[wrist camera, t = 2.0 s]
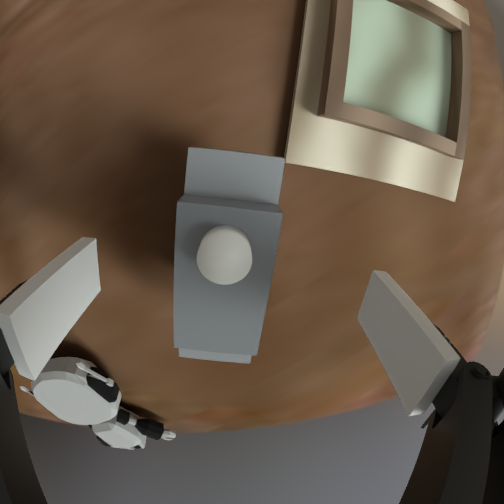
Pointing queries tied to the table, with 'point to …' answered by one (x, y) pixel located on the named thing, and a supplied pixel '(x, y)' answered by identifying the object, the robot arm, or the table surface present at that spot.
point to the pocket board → (384, 92)
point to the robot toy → (92, 403)
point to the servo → (225, 252)
